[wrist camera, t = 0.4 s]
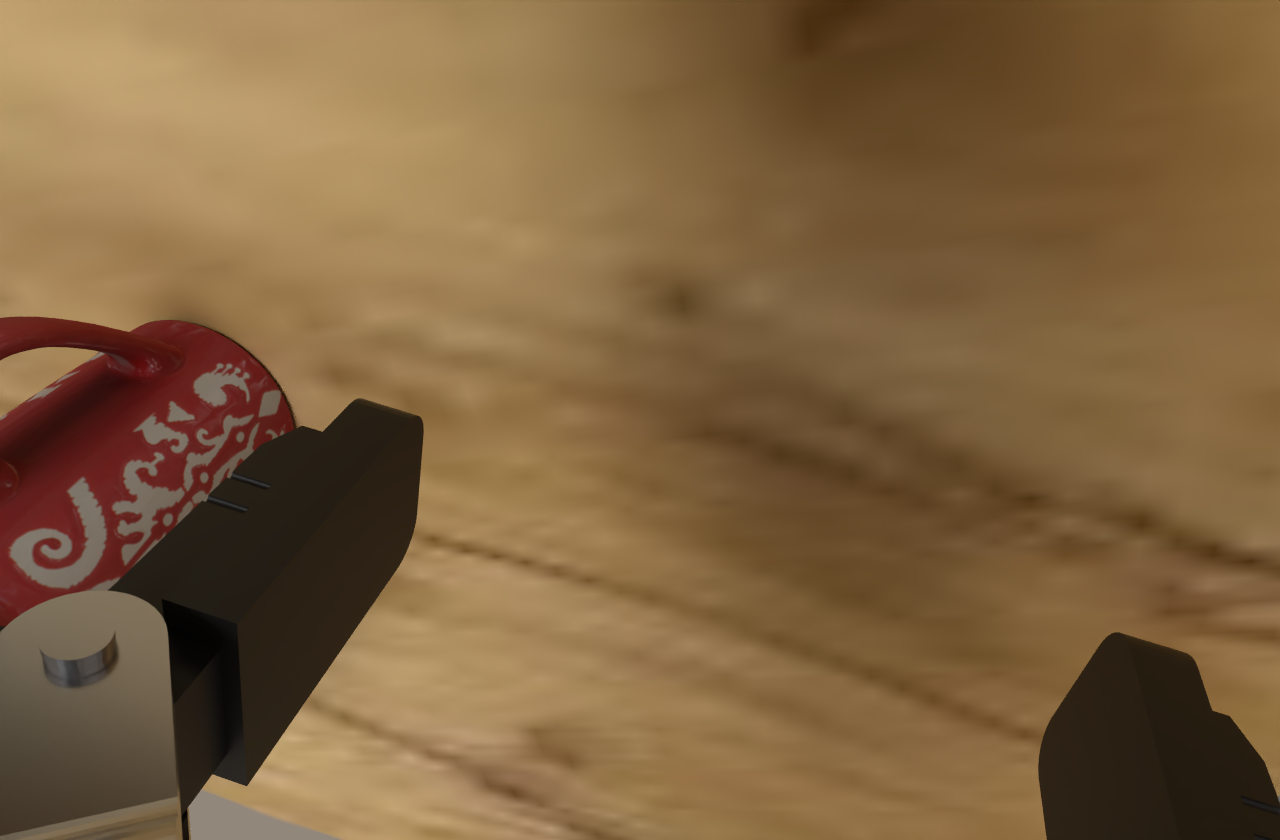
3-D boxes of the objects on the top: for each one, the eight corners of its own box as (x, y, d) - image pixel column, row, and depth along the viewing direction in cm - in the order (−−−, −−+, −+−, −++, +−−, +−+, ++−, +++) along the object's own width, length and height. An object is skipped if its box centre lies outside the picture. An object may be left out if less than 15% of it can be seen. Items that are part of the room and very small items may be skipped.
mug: (323, 525, 39) (90, 822, 28) (120, 459, 40) (-181, 724, 29) (315, 247, 31) (-8, 508, 21) (64, 173, 32) (-371, 388, 22)
